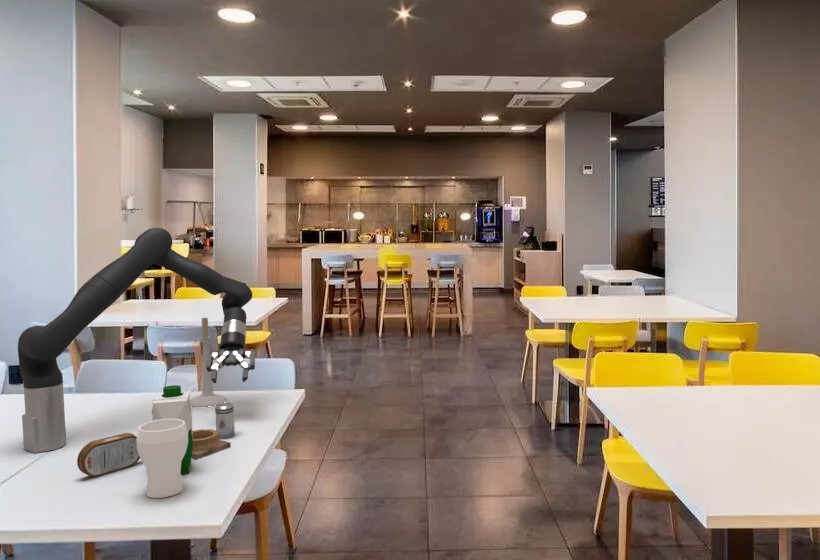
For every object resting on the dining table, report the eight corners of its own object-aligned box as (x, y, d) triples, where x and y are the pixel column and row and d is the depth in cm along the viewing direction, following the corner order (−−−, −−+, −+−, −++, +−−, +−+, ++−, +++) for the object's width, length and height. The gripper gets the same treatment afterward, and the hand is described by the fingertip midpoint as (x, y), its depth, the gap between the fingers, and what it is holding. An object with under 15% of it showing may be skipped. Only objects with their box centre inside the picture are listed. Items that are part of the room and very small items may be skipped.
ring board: (196, 459, 155) (195, 444, 155) (169, 452, 161) (168, 437, 161) (230, 446, 165) (230, 432, 164) (203, 440, 171) (203, 426, 170)
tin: (139, 460, 156) (138, 428, 155) (145, 463, 154) (144, 430, 153) (77, 479, 144) (75, 444, 143) (83, 482, 142) (81, 447, 141)
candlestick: (186, 400, 214) (183, 315, 212) (224, 396, 220) (221, 313, 218) (190, 409, 203) (186, 320, 201) (230, 404, 208) (226, 317, 206)
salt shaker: (224, 440, 170) (223, 408, 170) (212, 437, 173) (210, 406, 172) (239, 435, 175) (237, 404, 174) (226, 432, 177) (225, 402, 177)
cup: (196, 481, 141) (193, 417, 140) (181, 500, 131) (178, 431, 130) (150, 482, 141) (147, 418, 140) (130, 502, 130) (127, 433, 129)
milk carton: (195, 461, 154) (191, 383, 153) (192, 474, 145) (188, 392, 144) (157, 465, 152) (154, 386, 150) (152, 479, 143) (148, 395, 142)
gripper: (208, 331, 190) (202, 375, 179) (255, 329, 192) (252, 373, 181) (212, 345, 196) (206, 389, 185) (257, 343, 198) (254, 386, 187)
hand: (229, 381), depth 183 cm, fingers open, 8 cm apart
